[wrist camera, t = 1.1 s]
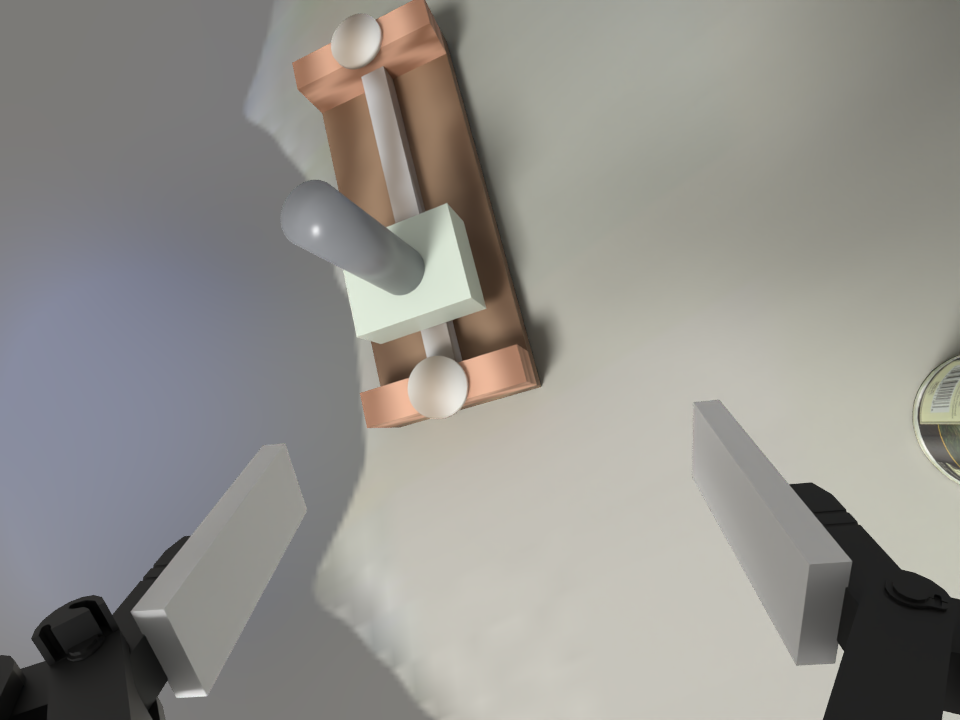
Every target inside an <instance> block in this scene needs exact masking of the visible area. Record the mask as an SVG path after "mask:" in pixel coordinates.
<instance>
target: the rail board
mask: <svg viewBox="0 0 960 720" xmlns="http://www.w3.org/2000/svg"><path fill="white" fill-rule="evenodd" d="M292 64H293V69H294V73H295V78H296V83H297V88H298V90H299V91H300V92H301V93H302V94H303V95H304V96H305V97H306V98H307V99H308V100H309V101H310V102H311V103H312V104H313V105H314V106H315V107H316V108H318V109H319V110H320V111H321V112H322V114H323V119H324V123H325V128H326V133H327V137H328V142H329V147H330V151H331V156H332V161H333V166H334V170H335V175H336V180H337V184H338V189H339V192H340V193H342V194H343V195H344V196H346V197H347V198H348V199H349V200H351V201H352V202H353V203H355V204H356V205H357V206H359V207H360V208H361V209H363V210H364V211H365V212H367V213H368V214H369V215H370V216H372V217H373V218H374V219H376V220H377V221H378V222H380V223H381V224H382V225H384V226H385V227H388V226H391V225H393V224H396V223H398V222H401V221H403V220H406V219H408V218H411V217H413V216H416V215H418V214H421V213H423V212H426V211H428V210H431V209H433V208H436V207H438V206H441V205H443V204H446V203H447V204H448V205H449V206H450V207H451V208H452V209H453V210H454V211H455V213H456V214H457V215H458V216H459V217H460V218H461V219H462V220H463V222H464V225H465V229H466V233H467V237H468V240H469V244H470V248H471V252H472V256H473V259H474V263H475V267H476V271H477V275H478V279H479V282H480V286H481V290H482V294H483V298H484V301H485V305H486V309H484V310H481V311H478V312H475V313H472V314H469V315H466V316H463V317H460V318H457V319H454V320H451V321H448V322H445V323H442V324H439V325H436V326H433V327H430V328H427V329H424V330H421V331H418V332H415V333H412V334H409V335H406V336H403V337H400V338H397V339H394V340H392V341H389V342H386V343H383V344H379V343H375V342H372V341H371V343H372V348H373V353H374V358H375V362H376V367H377V372H378V376H379V381H380V386H381V387H378V388H375V389H372V390H368V391H365V392H362V393H360V395H361V400H362V405H363V410H364V415H365V420H366V424H367V428H392V427H402V426H406V425H409V424H413V423H416V422H420V421H423V420H427V419H430V418H432V419H444V418H448V417H450V416H452V415H454V414H455V413H457V412H458V411H459V410H462V409H465V408H469V407H472V406H476V405H479V404H483V403H486V402H490V401H493V400H497V399H500V398H504V397H507V396H511V395H514V394H518V393H521V392H525V391H528V390H532V389H535V388H539V387H541V384H540V380H539V376H538V373H537V369H536V365H535V362H534V358H533V354H532V351H531V347H530V344H529V340H528V336H527V333H526V329H525V325H524V322H523V318H522V314H521V311H520V307H519V304H518V300H517V296H516V293H515V289H514V285H513V282H512V278H511V274H510V271H509V267H508V264H507V260H506V256H505V253H504V249H503V245H502V242H501V238H500V234H499V231H498V227H497V224H496V220H495V216H494V213H493V209H492V205H491V202H490V198H489V194H488V191H487V187H486V184H485V180H484V176H483V173H482V169H481V165H480V162H479V158H478V154H477V151H476V147H475V143H474V140H473V136H472V133H471V129H470V125H469V122H468V118H467V114H466V111H465V107H464V103H463V100H462V96H461V93H460V89H459V85H458V82H457V78H456V74H455V71H454V67H453V63H452V60H451V56H450V53H449V49H448V45H447V42H446V40H445V38H444V36H443V34H442V32H441V30H440V28H439V26H438V24H437V22H436V20H435V19H434V17H433V15H432V13H431V11H430V9H429V7H428V5H427V3H426V1H425V0H413V1H411V2H409V3H407V4H405V5H403V6H401V7H399V8H397V9H395V10H393V11H391V12H390V13H388V14H386V15H384V16H382V17H380V18H378V19H376V20H375V19H374V18H373V17H372V16H370V15H368V14H355V15H352V16H350V17H348V18H347V19H345V20H344V21H343V22H342V23H341V24H340V25H339V26H338V27H337V29H336V30H335V32H334V34H333V37H332V41H331V43H330V44H328V45H326V46H324V47H322V48H320V49H318V50H316V51H314V52H312V53H310V54H309V55H307V56H305V57H303V58H301V59H299V60H297V61H295V62H293V63H292Z"/></svg>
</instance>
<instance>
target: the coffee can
mask: <svg viewBox="0 0 960 720" xmlns="http://www.w3.org/2000/svg"><path fill="white" fill-rule="evenodd" d="M913 426H914V430H915V434H916V438H917V440H918V442H919V445H920V447H921V449H922V450H923V452H924V453H925V455H926V456H927V458H928V459H929V460H930V462H931V463H932V464H933V465H934V466H935V467H936V468H937V469H938V470H939V471H940V472H941V473H943V474H944V475H945V476H946V477H948V478H949V479H951V480H953V481H954V482H956V483H957V484H959V485H960V355H959V356H956V357H954V358H952V359H950V360H948V361H946V362H945V363H943V364H942V365H940V366H939V367H938V368H936V369H935V370H933V371H932V373H931V374H930V375H929V376H928V377H927V379H926V380H925V381H924V382H923V384H922V386H921V387H920V389H919V391H918V393H917V396H916V399H915V402H914V407H913Z"/></svg>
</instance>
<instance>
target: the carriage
mask: <svg viewBox="0 0 960 720" xmlns="http://www.w3.org/2000/svg"><path fill="white" fill-rule="evenodd" d="M281 226H282V230H283V232H284V234H285V236H286V237H287V239H288V240H289V241H290V242H292V243H293V244H296V245H297V246H299V247H301V248H303V249H305V250H307V251H309V252H311V253H313V254H315V255H317V256H319V257H320V258H322V259H324V260H326V261H328V262H330V263H332V264H334V265H336V266H338V267H340V268H342V269H343V272H344V277H345V282H346V287H347V291H348V296H349V301H350V306H351V311H352V315H353V320H354V325H355V330H356V334H357V337H359V338H362V339H365V340H369V341H372V342H375V343H379V344H383V343H386V342H389V341H392V340H394V339H397V338H400V337H403V336H406V335H409V334H412V333H415V332H418V331H421V330H424V329H427V328H430V327H433V326H436V325H439V324H442V323H445V322H448V321H451V320H454V319H457V318H460V317H463V316H466V315H469V314H472V313H475V312H478V311H481V310H484V309H486V305H485V301H484V298H483V294H482V290H481V286H480V282H479V279H478V275H477V271H476V267H475V263H474V259H473V256H472V252H471V248H470V244H469V240H468V237H467V233H466V229H465V225H464V222H463V220H462V219H461V218H460V217H459V216H458V215H457V214H456V213H455V211H454V210H453V209H452V208H451V207H450V206H449V205H448V204H447V203H446V204H443V205H441V206H438V207H436V208H433V209H431V210H428V211H426V212H423V213H421V214H418V215H416V216H413V217H411V218H408V219H406V220H403V221H401V222H398V223H396V224H393V225H391V226H388V227H385V226H384V225H382V224H381V223H380V222H378V221H377V220H376V219H374V218H373V217H372V216H370V215H369V214H368V213H367V212H365V211H364V210H363V209H361V208H360V207H359V206H357V205H356V204H355V203H353V202H352V201H351V200H349V199H348V198H347V197H346V196H344V195H343V194H342V193H340V192H339V191H338V190H336V189H335V188H334V187H332V186H331V185H330V184H328V183H327V182H324V181H321V180H310V181H306V182H303V183H302V184H300V185H298V186H297V187H296V188H295V189H293V190H292V192H291V193H290V194H289V195H288V197H287V198H286V200H285V202H284V204H283V207H282V211H281Z"/></svg>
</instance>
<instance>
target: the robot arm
mask: <svg viewBox="0 0 960 720" xmlns="http://www.w3.org/2000/svg"><path fill="white" fill-rule="evenodd" d="M692 478H693V480H694V481H695V483H696V485H697V487H698V489H699V490H700V492H701V494H702V496H703V498H704V499H705V501H706V503H707V505H708V507H709V509H710V510H711V512H712V514H713V516H714V518H715V519H716V521H717V523H718V525H719V527H720V528H721V530H722V532H723V534H724V536H725V537H726V539H727V541H728V543H729V545H730V546H731V548H732V550H733V552H734V554H735V555H736V557H737V559H738V561H739V563H740V565H741V566H742V568H743V570H744V572H745V574H746V575H747V577H748V579H749V581H750V583H751V584H752V586H753V588H754V590H755V592H756V593H757V595H758V597H759V599H760V601H761V602H762V604H763V606H764V608H765V610H766V612H767V613H768V615H769V617H770V619H771V621H772V622H773V624H774V626H775V628H776V630H777V631H778V633H779V635H780V637H781V639H782V640H783V642H784V644H785V646H786V648H787V649H788V651H789V653H790V655H791V657H792V658H793V660H794V662H795V664H796V665H815V664H834V663H835V660H836V654H837V649H838V643H839V644H840V646H841V647H842V649H843V650H844V654H843V657H842V660H841V663H840V667H839V670H838V673H837V676H836V679H835V683H834V686H833V689H832V692H831V695H830V699H829V702H828V705H827V708H826V711H825V715H824V718H823V720H942V714H943V711H947V712H951V713H955V714H959V715H960V599H955V598H951V597H950V596H949V595H948V594H947V592H946V591H945V590H944V589H942V588H941V587H940V586H938V585H937V584H935V583H934V582H933V581H931V580H929V579H927V578H925V577H923V576H921V575H918V574H916V573H913V572H909V571H905V570H901V569H900V568H899V567H898V565H897V564H896V563H895V562H894V561H893V560H892V559H891V558H890V557H889V556H888V555H887V553H886V552H885V551H884V550H883V549H882V548H881V547H880V546H879V545H878V544H877V543H876V542H875V540H874V539H873V538H872V537H871V536H870V535H869V534H868V533H867V532H866V531H865V530H864V529H863V527H862V526H861V525H858V523H857V521H856V520H855V519H854V518H853V517H852V516H851V514H850V513H847V512H846V509H845V508H844V507H843V506H842V505H841V504H840V503H839V501H838V500H837V499H836V498H835V497H834V496H833V495H832V494H830V493H829V492H827V491H825V490H823V489H822V488H820V487H818V486H817V485H815V484H813V483H800V484H788V483H787V481H786V480H785V479H784V478H783V477H782V475H781V474H780V473H779V472H778V471H777V469H776V468H775V467H774V466H773V464H772V463H771V462H770V461H769V460H768V458H767V457H766V456H765V455H764V454H763V452H762V451H761V450H760V449H759V447H758V446H757V445H756V444H755V443H754V441H753V440H752V439H751V438H750V437H749V435H748V434H747V433H746V432H745V430H744V429H743V428H742V427H741V426H740V424H739V423H738V422H737V421H736V420H735V418H734V417H733V416H732V415H731V413H730V412H729V411H728V410H727V409H726V407H725V406H724V405H723V404H722V403H721V401H720V400H712V401H702V402H693V452H692ZM306 512H307V508H306V505H305V502H304V499H303V496H302V493H301V490H300V487H299V484H298V481H297V478H296V475H295V472H294V469H293V466H292V463H291V460H290V457H289V454H288V451H287V448H286V444H285V443H282V444H272V445H263V446H262V447H261V449H260V450H259V451H258V452H257V454H256V455H255V456H254V457H253V459H252V460H251V461H250V463H249V464H248V465H247V466H246V468H245V469H244V470H243V471H242V473H241V474H240V475H239V476H238V478H237V479H236V480H235V481H234V483H233V484H232V485H231V486H230V488H229V489H228V490H227V491H226V493H225V494H224V495H223V496H222V498H221V499H220V500H219V501H218V503H217V504H216V505H215V507H214V508H213V509H212V510H211V511H210V513H209V514H208V515H207V516H206V518H205V519H204V520H203V521H202V523H201V524H200V525H199V526H198V528H197V529H196V530H195V532H194V533H193V534H192V535H191V536H184V537H183V538H181V539H180V540H179V541H177V542H176V543H175V544H173V545H172V546H171V547H170V548H168V549H167V550H166V551H165V552H164V553H163V555H162V556H161V557H160V558H159V559H158V561H157V562H156V563H155V564H154V567H153V568H151V569H150V570H149V571H148V573H147V574H146V575H145V576H144V577H143V581H140V582H139V583H138V585H137V586H136V587H135V588H134V589H133V591H132V592H131V593H130V594H129V596H128V597H127V598H126V599H125V600H124V601H123V603H122V604H121V605H120V606H119V608H118V609H117V610H116V611H115V613H114V614H113V615H112V614H111V612H110V611H109V609H108V607H107V605H106V603H105V602H104V600H103V598H102V597H99V596H95V595H92V596H86V597H81V598H79V599H76V600H74V601H71V602H69V603H67V604H65V605H64V606H62V607H60V608H58V609H57V610H55V611H54V612H53V613H51V614H50V615H49V616H48V617H46V618H45V619H44V620H43V621H42V622H41V623H40V625H39V626H38V627H37V628H36V629H35V631H34V634H33V636H32V638H31V639H32V641H33V642H34V644H35V645H36V647H37V648H38V650H39V651H40V653H41V655H42V656H43V658H44V659H45V661H44V662H41V663H38V664H34V665H32V666H29V667H25V668H22V669H20V668H19V667H18V665H17V664H16V662H15V661H14V660H13V658H11V656H4V655H1V656H0V720H165V715H164V710H163V706H162V704H161V702H160V700H159V699H158V697H157V696H158V695H159V693H160V691H161V690H162V688H163V687H164V685H165V683H166V682H167V681H168V682H169V684H170V686H171V688H172V690H173V692H174V694H175V696H176V697H177V698H180V697H199V696H208V694H209V692H210V690H211V688H212V686H213V685H214V683H215V681H216V679H217V677H218V675H219V673H220V672H221V670H222V668H223V666H224V664H225V662H226V660H227V659H228V657H229V655H230V653H231V651H232V649H233V647H234V646H235V644H236V642H237V640H238V638H239V636H240V634H241V633H242V630H243V629H244V627H245V625H246V623H247V621H248V619H249V618H250V616H251V614H252V612H253V610H254V608H255V606H256V605H257V603H258V601H259V599H260V597H261V595H262V593H263V592H264V590H265V588H266V586H267V584H268V582H269V580H270V579H271V577H272V575H273V573H274V571H275V569H276V567H277V566H278V564H279V562H280V560H281V558H282V556H283V554H284V553H285V551H286V549H287V547H288V545H289V543H290V541H291V539H292V537H293V535H294V534H295V532H296V530H297V528H298V526H299V524H300V523H301V521H302V519H303V517H304V515H305V513H306Z"/></svg>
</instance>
